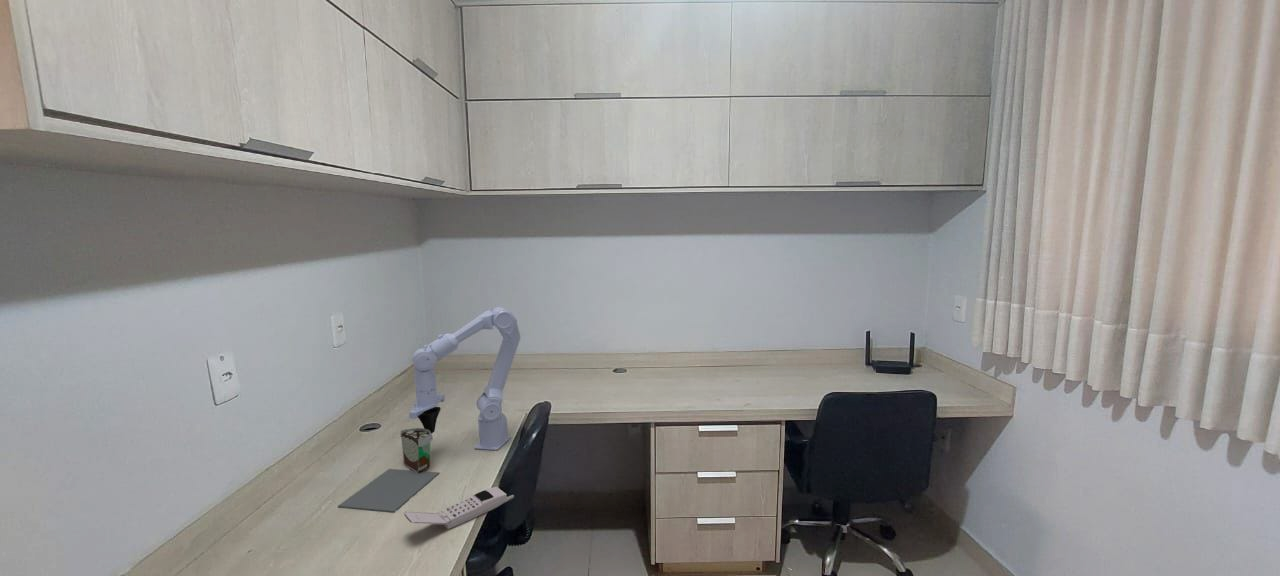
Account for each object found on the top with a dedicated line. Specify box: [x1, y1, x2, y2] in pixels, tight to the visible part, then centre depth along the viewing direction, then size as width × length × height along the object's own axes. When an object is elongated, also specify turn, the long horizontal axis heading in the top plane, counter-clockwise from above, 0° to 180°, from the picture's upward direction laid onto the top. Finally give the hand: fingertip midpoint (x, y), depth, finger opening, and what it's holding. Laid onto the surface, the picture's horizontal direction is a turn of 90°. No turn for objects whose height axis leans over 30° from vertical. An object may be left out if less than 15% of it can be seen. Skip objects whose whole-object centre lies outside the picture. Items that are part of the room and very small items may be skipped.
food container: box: [400, 427, 434, 473], centre depth 145 cm, size 12×6×10 cm, turn 48°
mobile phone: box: [403, 486, 515, 530], centre depth 119 cm, size 6×6×25 cm
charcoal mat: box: [337, 468, 440, 513], centre depth 133 cm, size 19×16×1 cm
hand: (430, 432), depth 150 cm, fingers closed
